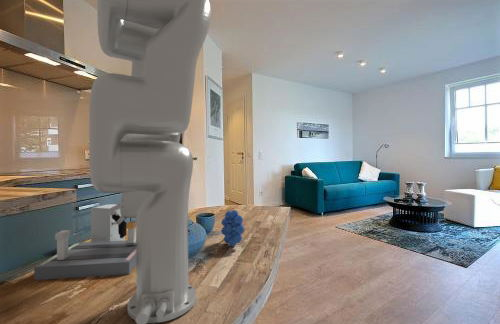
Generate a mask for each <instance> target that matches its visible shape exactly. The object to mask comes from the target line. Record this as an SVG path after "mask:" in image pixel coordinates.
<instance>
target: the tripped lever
mask: <svg viewBox="0 0 500 324" xmlns="http://www.w3.org/2000/svg"><path fill="white" fill-rule="evenodd" d="M126 223H127V240H128V242H127V243H126V245H135V244H136V220H130V221H128V222H126Z"/></svg>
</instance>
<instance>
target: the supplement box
mask: <svg viewBox="0 0 500 324" xmlns="http://www.w3.org/2000/svg"><path fill="white" fill-rule="evenodd" d="M118 204H119V203H118ZM118 204H114V203H113V204H111V203H110V204H104V205H97V206H94V207H91V208H90V220H91V221H90V242H103V241H126V236H124V237H123V238H120V234H118V224H117V223H116V221H115V220H114V219H112V216H111V215H110V213H109V211H108V210H109V209H110V208H112V207H114V206H116V205H118ZM116 212H117V214H118V215H119V216H120V217H121V213H120V208H119V209H117V210H116Z"/></svg>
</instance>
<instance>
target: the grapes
mask: <svg viewBox="0 0 500 324" xmlns="http://www.w3.org/2000/svg"><path fill="white" fill-rule="evenodd" d="M243 222H244V218H243V216H241V215H239V211H237V210H236V209H232V210H228V211H226V212H225V214H224V218H222V220H221V225H222V226H223V227H222V228H221V231H220V233H221V234H222V235H224V237H223V241H224V242H225V243H226V244H229V246H230V247H235V246H236V245H237V244H240V243H241V242H242V240H243V237H242V235H243V234H244V232H245V227H244V224H243Z"/></svg>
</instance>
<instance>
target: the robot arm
mask: <svg viewBox="0 0 500 324" xmlns="http://www.w3.org/2000/svg"><path fill="white" fill-rule="evenodd" d="M96 3H97V9H96V10H97V11H96V12H97V35H98V43H99V45H100V48H101V51H102V52H103V54H105V55H106V56H108V57H110V58H115V59H119V60H125V61H129V62H131V75H126V74H121V73H110V72H107V73H103V74H100V75H98V76H97V77H96V78H95V79H94V81H93V83H92V86H91V89H90V96H89V108H88V109H89V110H88V112H89V113H88V114H89V117H88V120H89V121H88V123H89V129H88V130H89V136H88V138H89V148H88V149H89V159H88V160H89V177H90V182H91V185H92V186H93V188H94V189H95V190H96V191H97V192H100V193H104V194H121V196H120V202H119V203H118V205H116V206H114V207H112V208H110V209H109V210H108V211H109V213H110V215H111V216H112V219H114V220H115V221H116V223H117V224H118V234H120V238H123V237H124V236H125V237H126V236H127V235H128V229H127V223H128V222H126V220H127V218H128V219H129V218H130V219H131V218H136V220H135V221H136V258H137V265H136V292H135V293H134V294H133V295H132V296H131V297H130V298H129V300H128V302H127V307H126V309H127V311H126V312H127V314H128V316H129V317H130V319H132V320H134V321H135V323H136V324H158V323H164V322H168V321H171V320H174V319H176V318H179V317H181V316H183V315H184V314H185V313H187V312H188V311H190V310H191V309H192V308H193V307H194V306H195V304H196V301H197V291H196V288H195V287H194V286H193V285H192V284H190V283H189V199H190V189H191V188H190V187H191V182H192V176H193V175H192V174H193V169H194V168H193V167H194V160H193V159H194V157H193V154H192V152H191V150H190V149H189V147H188V146H186V145H184V144H182V143H180V142H181V141H180V140H181V135H182V134H183V133H185V132H186V130H187V129H188V127H189V124H190V120H191V113H192V104H193V96H194V89H195V79H196V69H197V64H198V58H199V55H200V52H201V50H202V47H203V45H204V43H205V41H206V38H207V35H208V33H209V30H210V25H211V19H212V10H211V4H210V1H209V0H97V2H96ZM119 208H120V213H121V217H120V216H119V215H118V214H117V212H116V210H117V209H119Z"/></svg>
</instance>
